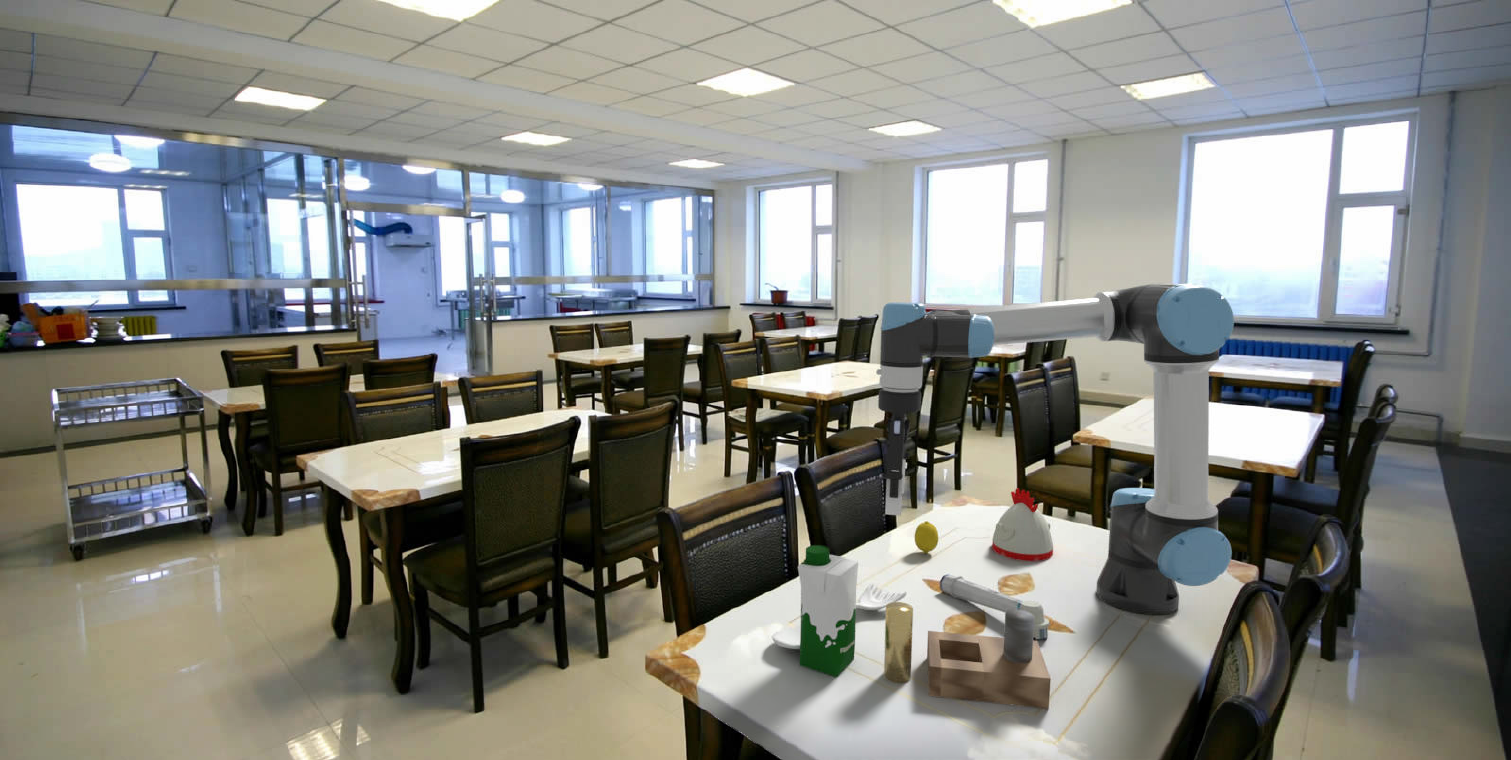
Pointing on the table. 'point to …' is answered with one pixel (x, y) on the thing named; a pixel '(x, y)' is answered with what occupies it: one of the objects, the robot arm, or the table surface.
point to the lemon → (926, 537)
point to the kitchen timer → (1023, 531)
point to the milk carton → (827, 610)
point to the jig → (990, 665)
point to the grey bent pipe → (994, 600)
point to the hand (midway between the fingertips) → (895, 503)
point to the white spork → (866, 601)
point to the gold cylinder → (898, 642)
